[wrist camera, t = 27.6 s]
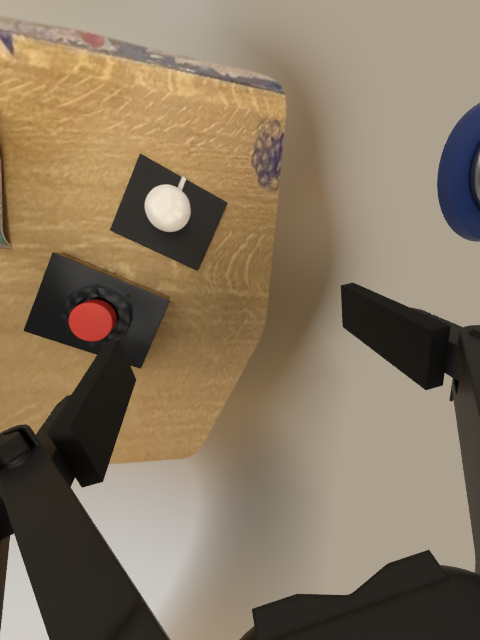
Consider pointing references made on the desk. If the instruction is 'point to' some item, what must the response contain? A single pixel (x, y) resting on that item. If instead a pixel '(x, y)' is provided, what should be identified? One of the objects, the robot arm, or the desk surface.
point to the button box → (95, 283)
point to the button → (92, 320)
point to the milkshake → (168, 207)
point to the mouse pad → (175, 245)
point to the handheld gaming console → (0, 238)
